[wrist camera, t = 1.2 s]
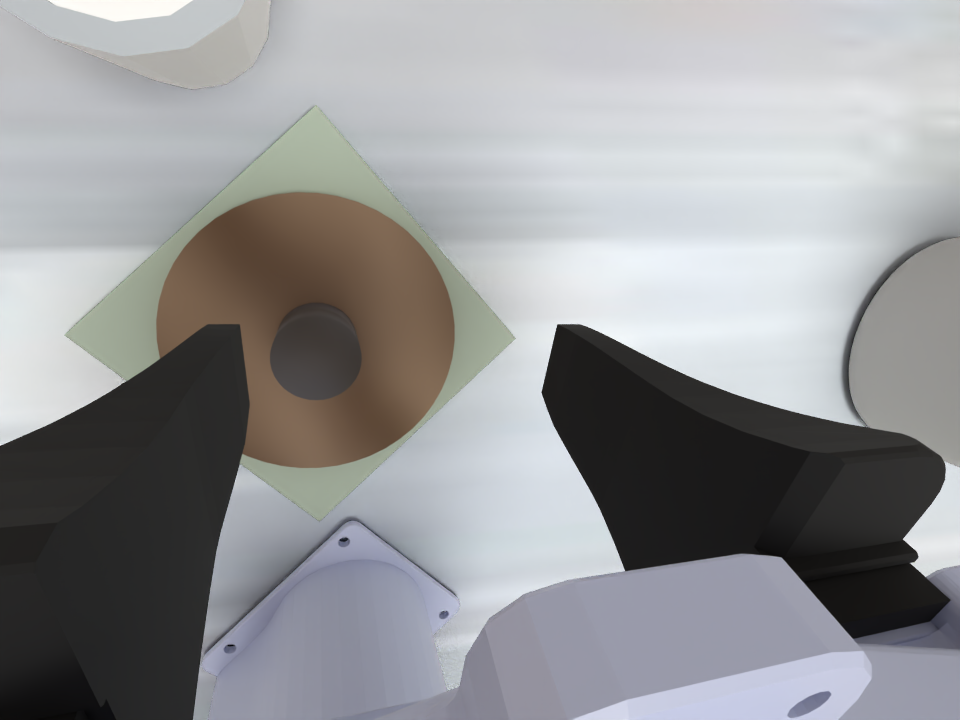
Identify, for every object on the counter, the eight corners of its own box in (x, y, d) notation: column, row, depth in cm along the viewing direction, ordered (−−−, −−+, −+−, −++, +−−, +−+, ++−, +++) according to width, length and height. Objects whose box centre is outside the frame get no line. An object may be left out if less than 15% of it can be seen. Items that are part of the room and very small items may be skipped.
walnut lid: (319, 507, 22) (318, 553, 19) (88, 335, 18) (42, 360, 15) (501, 338, 23) (527, 357, 20) (315, 126, 18) (314, 111, 15)
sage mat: (319, 516, 23) (319, 521, 23) (69, 332, 18) (64, 335, 18) (512, 336, 23) (515, 338, 23) (316, 107, 18) (315, 105, 18)
